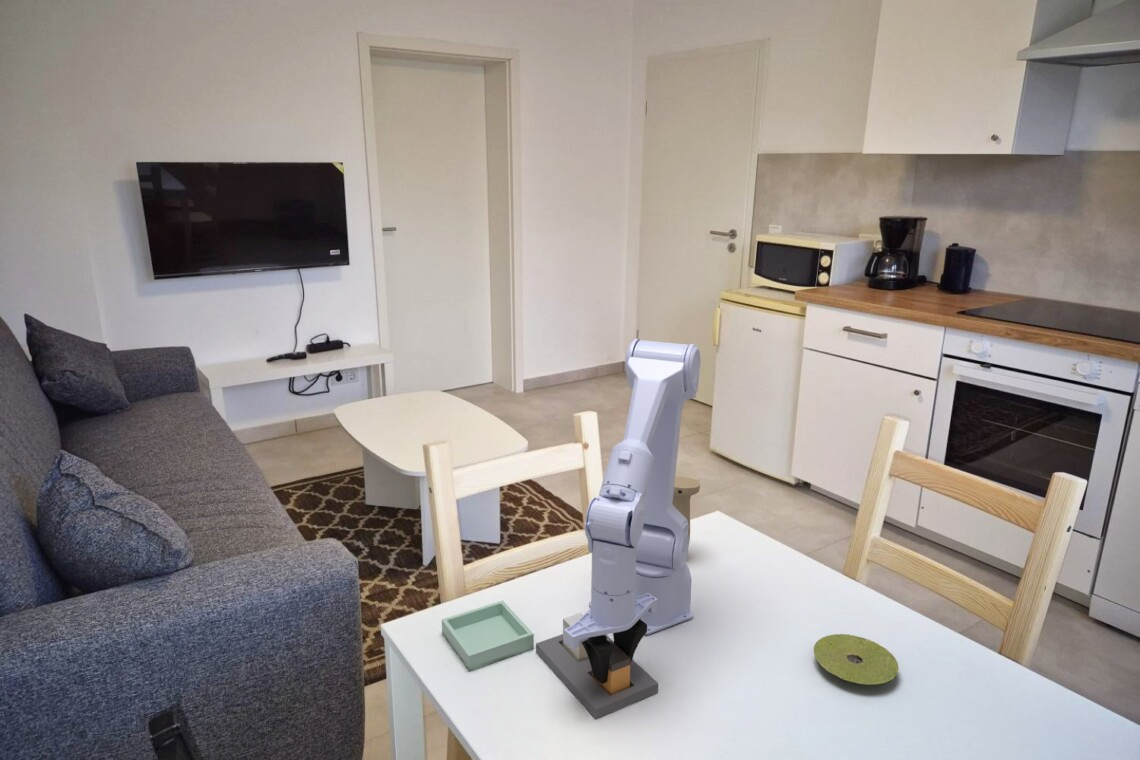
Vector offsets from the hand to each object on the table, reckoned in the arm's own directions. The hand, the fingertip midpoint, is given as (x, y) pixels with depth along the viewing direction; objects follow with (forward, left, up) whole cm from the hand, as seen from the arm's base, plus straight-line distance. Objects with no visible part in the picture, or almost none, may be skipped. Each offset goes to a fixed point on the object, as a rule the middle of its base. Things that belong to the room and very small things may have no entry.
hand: (611, 673), depth 101 cm
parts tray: (+10, -18, -2) cm, 21 cm away
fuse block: (0, -4, -2) cm, 5 cm away
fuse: (0, -8, -2) cm, 8 cm away
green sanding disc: (-32, +14, -2) cm, 35 cm away
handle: (-30, -23, -2) cm, 38 cm away
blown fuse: (0, 0, -2) cm, 2 cm away
